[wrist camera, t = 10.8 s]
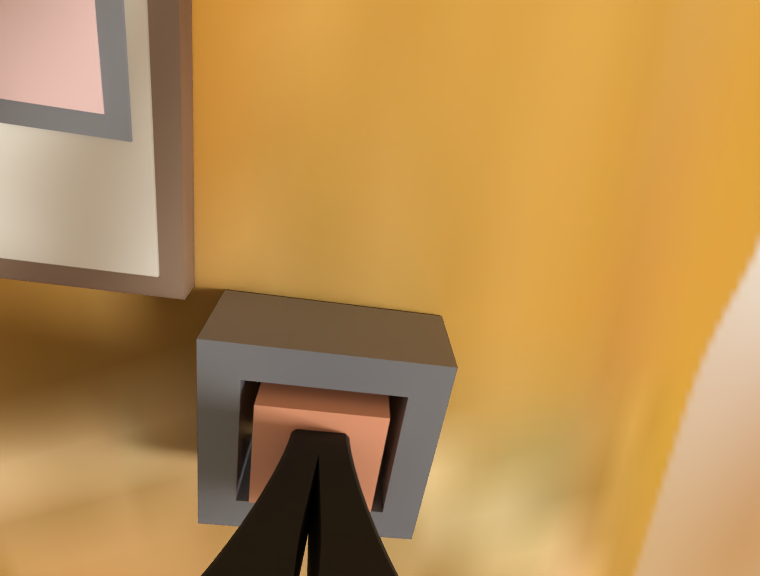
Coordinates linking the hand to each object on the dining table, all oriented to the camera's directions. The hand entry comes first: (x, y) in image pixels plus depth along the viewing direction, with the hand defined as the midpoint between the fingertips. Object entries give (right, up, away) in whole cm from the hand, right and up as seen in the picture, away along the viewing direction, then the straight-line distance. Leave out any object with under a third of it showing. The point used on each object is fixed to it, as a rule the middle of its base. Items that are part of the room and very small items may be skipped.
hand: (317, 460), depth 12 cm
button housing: (0, +1, +3) cm, 3 cm away
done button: (0, +1, +2) cm, 2 cm away
